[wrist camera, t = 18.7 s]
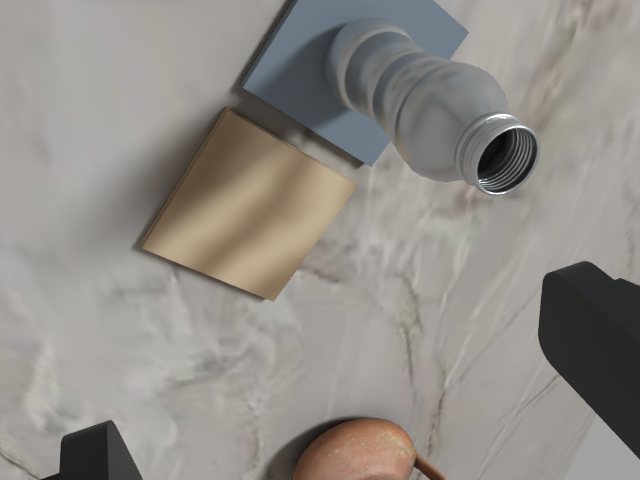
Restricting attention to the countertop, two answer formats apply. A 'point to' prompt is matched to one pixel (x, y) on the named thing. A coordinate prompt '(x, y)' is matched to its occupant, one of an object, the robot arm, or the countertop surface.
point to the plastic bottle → (431, 107)
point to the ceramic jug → (363, 454)
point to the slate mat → (309, 64)
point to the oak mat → (247, 208)
